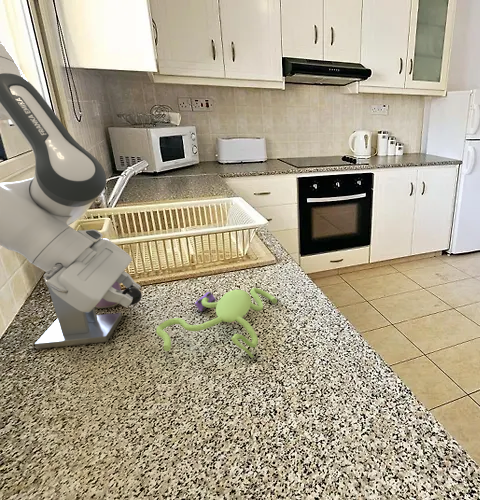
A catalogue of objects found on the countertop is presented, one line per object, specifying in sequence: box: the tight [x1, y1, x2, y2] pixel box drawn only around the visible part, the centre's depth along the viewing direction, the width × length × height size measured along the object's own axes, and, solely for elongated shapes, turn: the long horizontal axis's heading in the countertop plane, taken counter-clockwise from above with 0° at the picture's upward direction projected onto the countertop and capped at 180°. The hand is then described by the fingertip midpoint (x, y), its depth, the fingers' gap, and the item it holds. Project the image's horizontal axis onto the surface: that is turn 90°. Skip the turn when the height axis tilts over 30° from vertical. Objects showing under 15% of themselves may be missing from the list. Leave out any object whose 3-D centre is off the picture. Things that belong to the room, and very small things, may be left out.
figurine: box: [155, 287, 278, 359], centre depth 78 cm, size 18×27×6 cm
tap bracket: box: [34, 286, 123, 350], centre depth 73 cm, size 12×9×13 cm
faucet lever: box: [116, 287, 143, 306], centre depth 73 cm, size 14×4×4 cm, turn 104°
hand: (134, 296), depth 76 cm, fingers closed on faucet lever, 4 cm apart
